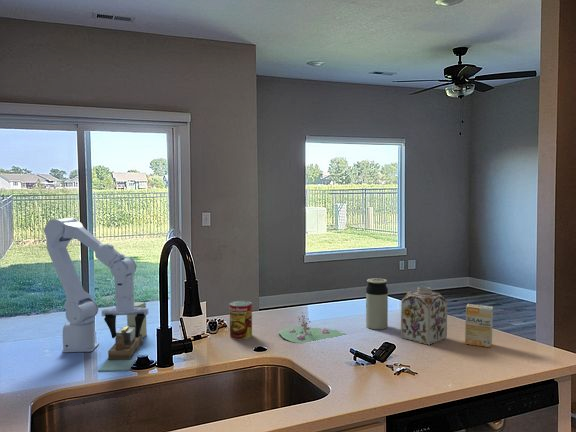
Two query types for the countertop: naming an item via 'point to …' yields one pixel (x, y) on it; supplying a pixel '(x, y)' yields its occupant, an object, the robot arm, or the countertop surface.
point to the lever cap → (127, 334)
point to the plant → (307, 333)
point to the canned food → (240, 320)
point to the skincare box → (132, 319)
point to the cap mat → (117, 365)
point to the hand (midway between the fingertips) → (126, 336)
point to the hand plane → (124, 348)
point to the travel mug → (377, 304)
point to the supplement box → (479, 325)
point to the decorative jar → (424, 316)
